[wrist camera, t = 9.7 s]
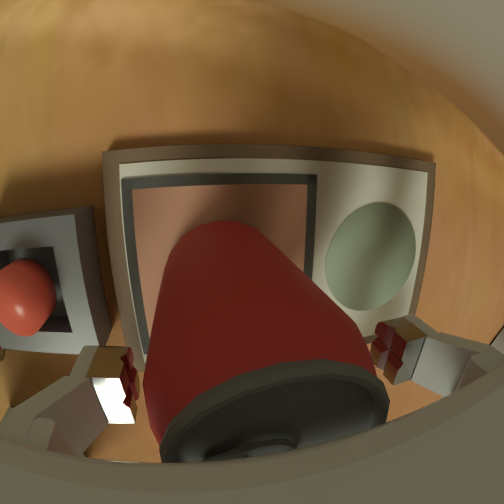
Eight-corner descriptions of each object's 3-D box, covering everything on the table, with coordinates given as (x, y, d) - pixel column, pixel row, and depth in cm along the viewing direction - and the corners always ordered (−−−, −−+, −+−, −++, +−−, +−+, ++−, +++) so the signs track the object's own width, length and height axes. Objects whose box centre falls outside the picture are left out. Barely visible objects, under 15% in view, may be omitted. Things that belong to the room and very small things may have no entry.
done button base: (92, 205, 15) (74, 214, 12) (111, 328, 17) (101, 355, 14) (-6, 218, 13) (-31, 228, 11) (19, 326, 16) (1, 348, 13)
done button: (48, 255, 13) (32, 268, 11) (63, 320, 14) (51, 338, 12) (0, 259, 12) (-18, 270, 10) (15, 318, 13) (1, 334, 11)
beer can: (157, 224, 15) (87, 369, 4) (277, 213, 16) (438, 310, 5) (174, 331, 17) (176, 518, 6) (279, 317, 18) (375, 474, 7)
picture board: (428, 162, 19) (437, 163, 18) (405, 328, 23) (411, 333, 22) (106, 152, 14) (101, 151, 13) (134, 364, 18) (132, 373, 17)
